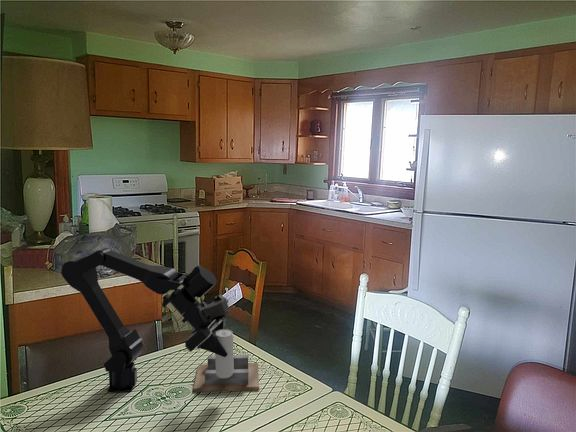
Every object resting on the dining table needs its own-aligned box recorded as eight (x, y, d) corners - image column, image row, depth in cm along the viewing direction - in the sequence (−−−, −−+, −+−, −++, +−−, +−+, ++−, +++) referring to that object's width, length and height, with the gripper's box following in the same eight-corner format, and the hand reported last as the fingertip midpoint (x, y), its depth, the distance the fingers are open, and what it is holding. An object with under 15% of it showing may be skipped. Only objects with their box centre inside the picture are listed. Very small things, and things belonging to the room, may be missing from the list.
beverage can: (219, 381, 121) (219, 338, 119) (212, 372, 125) (211, 331, 123) (236, 376, 124) (236, 334, 121) (229, 367, 128) (228, 327, 125)
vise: (193, 391, 128) (193, 376, 127) (199, 365, 143) (198, 351, 142) (259, 390, 129) (259, 374, 129) (257, 364, 144) (257, 350, 144)
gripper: (197, 300, 112) (240, 348, 112) (221, 279, 130) (259, 320, 130) (166, 328, 114) (209, 375, 114) (194, 303, 133) (231, 344, 132)
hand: (229, 351), depth 123 cm, fingers closed on beverage can, 5 cm apart
